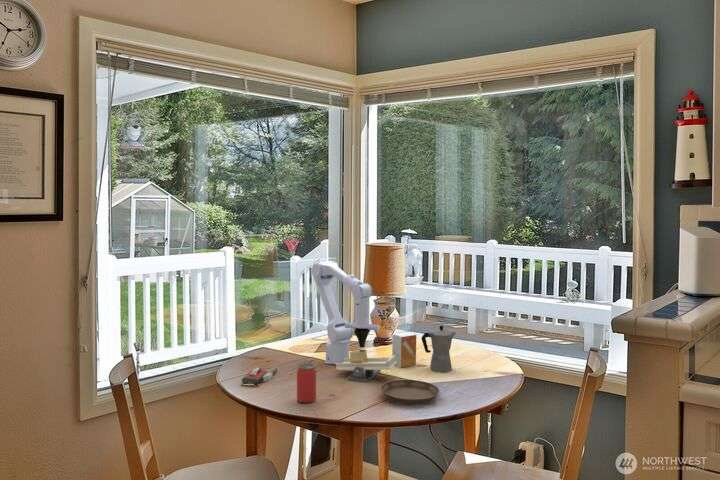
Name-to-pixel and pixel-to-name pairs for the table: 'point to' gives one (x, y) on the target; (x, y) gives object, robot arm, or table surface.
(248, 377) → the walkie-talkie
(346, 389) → the table surface
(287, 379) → the table surface
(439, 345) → the coffeepot
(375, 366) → the beam
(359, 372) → the pivot stand
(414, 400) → the plant saucer
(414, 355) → the small box
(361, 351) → the brass block
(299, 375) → the beer can
